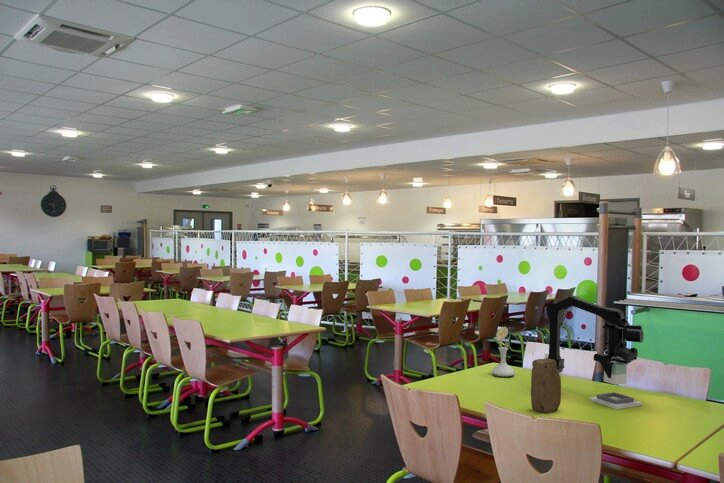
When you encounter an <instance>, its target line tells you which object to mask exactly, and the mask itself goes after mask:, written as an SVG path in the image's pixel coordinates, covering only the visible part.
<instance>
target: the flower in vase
mask: <svg viewBox="0 0 724 483" xmlns="http://www.w3.org/2000/svg"><path fill="white" fill-rule="evenodd" d="M508 333H509V329H508V327H507V326H501V327H500V328H499V329H498V330H497V331H496V335H495V336H496V338H495V340H497V341H498V342H499V343H500V344H501V345H503V346H501V347H500V346H498V351H499V353H500V363H498V364H497V365H496V366H495V367H494V368H492V370H491V373H492V375H494V376H498V377H511V376H515V374H516V372H515V370H514V369H513V368H512V367H511V366H510V365H508V363H507V361H506V360H507V359H506V358H507V357H506V356H507V351H508V350H509V347H510V345H509V342H507V338H506V337H507V336H508ZM503 340H505V342H503Z"/></svg>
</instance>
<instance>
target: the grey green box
mask: <svg viewBox="0 0 724 483" xmlns="http://www.w3.org/2000/svg"><path fill="white" fill-rule="evenodd" d="M612 362H613V363H614V364H613V365H612V372H611V378H608V377H607V375H606V372H605V370H604V369H603V382H605V383H608V384H612V385H617V386H618V385H625V384H627V365H626V364H624V363H620V362H616V360H612Z"/></svg>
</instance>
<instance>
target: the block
mask: <svg viewBox="0 0 724 483" xmlns="http://www.w3.org/2000/svg"><path fill="white" fill-rule="evenodd" d="M556 364H557V363H556V361H555V360H553V359H547V358H545V357H544V358H537V359H534V360H533V361H532V363H531V365H532V369H531V376H530V380H531V381H530V404H531V408H532V409H533V410H535V411H536V412H539V413H546V414H549V413H553V412H556V411H558V409H559V408H560V405H561V404H562V403H561V402H562V379H561V374H560V375H559V372H558V370H557V367H556V366H557V365H556Z"/></svg>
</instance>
